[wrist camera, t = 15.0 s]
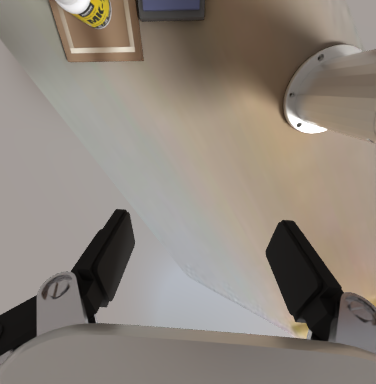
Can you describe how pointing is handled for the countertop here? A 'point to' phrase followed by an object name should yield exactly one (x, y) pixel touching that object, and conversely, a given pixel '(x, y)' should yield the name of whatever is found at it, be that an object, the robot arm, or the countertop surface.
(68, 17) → the marked board
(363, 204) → the countertop surface
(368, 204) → the countertop surface
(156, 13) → the ink pad
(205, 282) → the countertop surface
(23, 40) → the countertop surface
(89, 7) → the supplement bottle
